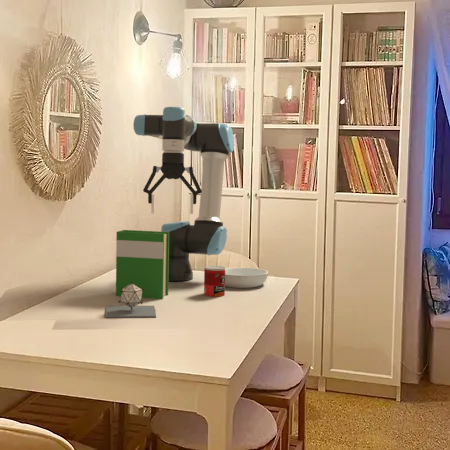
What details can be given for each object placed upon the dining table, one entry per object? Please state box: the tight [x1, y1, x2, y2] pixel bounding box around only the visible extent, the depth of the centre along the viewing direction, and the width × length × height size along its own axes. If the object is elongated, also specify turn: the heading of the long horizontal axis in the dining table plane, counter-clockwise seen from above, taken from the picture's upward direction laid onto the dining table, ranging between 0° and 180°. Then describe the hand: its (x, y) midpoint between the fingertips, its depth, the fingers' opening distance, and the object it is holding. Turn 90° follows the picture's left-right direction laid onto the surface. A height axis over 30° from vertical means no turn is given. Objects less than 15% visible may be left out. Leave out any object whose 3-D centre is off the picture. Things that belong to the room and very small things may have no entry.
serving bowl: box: [225, 267, 269, 289], centre depth 284 cm, size 21×21×7 cm
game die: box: [117, 281, 145, 310], centre depth 234 cm, size 9×8×10 cm
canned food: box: [203, 265, 226, 298], centre depth 264 cm, size 8×8×11 cm
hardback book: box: [115, 229, 169, 300], centre depth 260 cm, size 18×7×24 cm, turn 78°
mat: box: [104, 305, 157, 319], centre depth 234 cm, size 16×16×1 cm
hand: (172, 213), depth 248 cm, fingers open, 13 cm apart
